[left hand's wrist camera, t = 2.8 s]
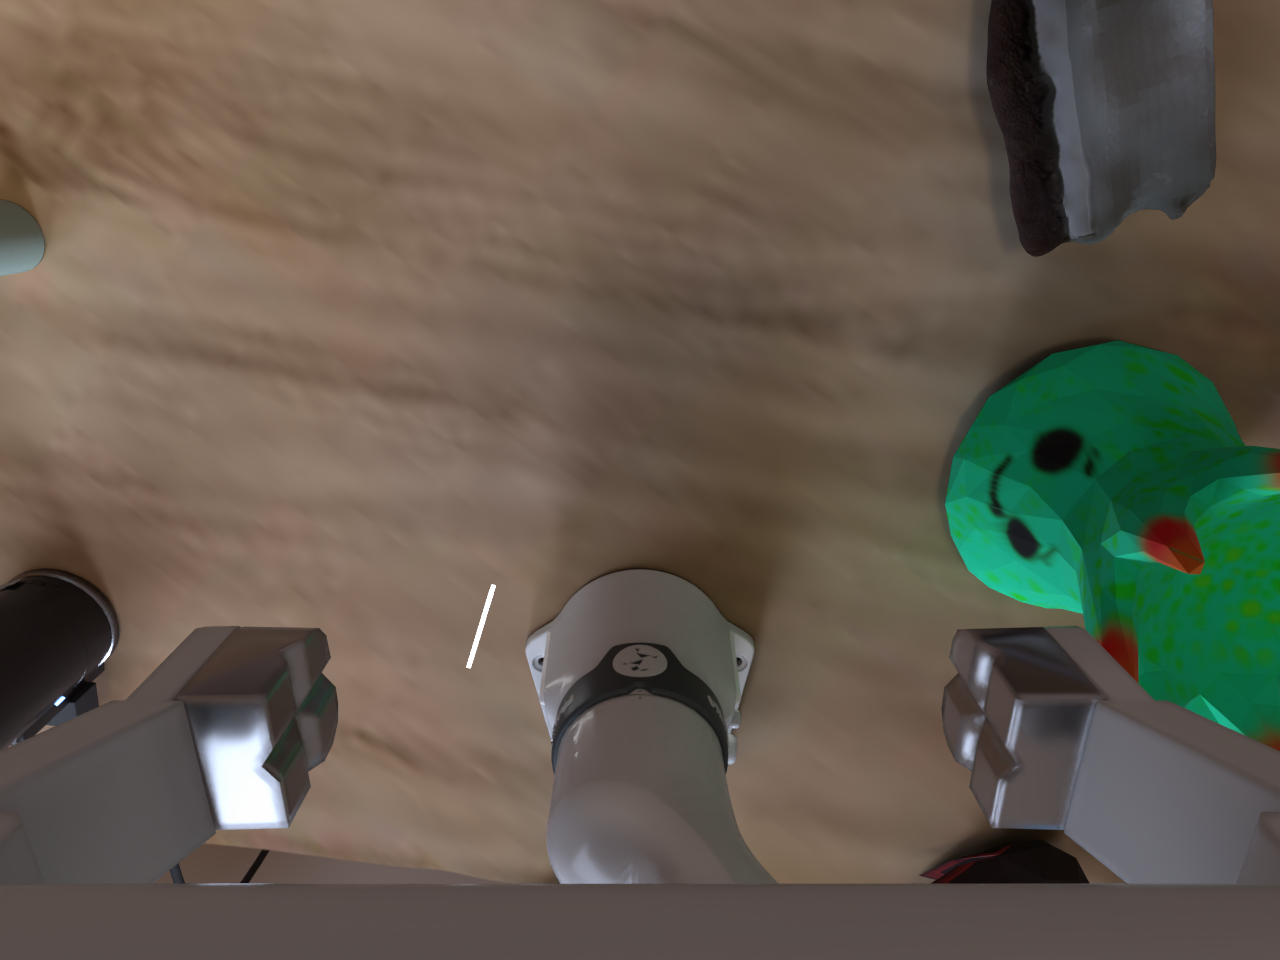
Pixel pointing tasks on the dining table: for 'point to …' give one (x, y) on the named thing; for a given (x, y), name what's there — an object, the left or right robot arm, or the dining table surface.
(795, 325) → the dining table surface
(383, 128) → the dining table surface
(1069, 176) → the rock
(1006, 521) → the toy
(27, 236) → the bottle
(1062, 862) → the toy
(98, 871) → the left robot arm
